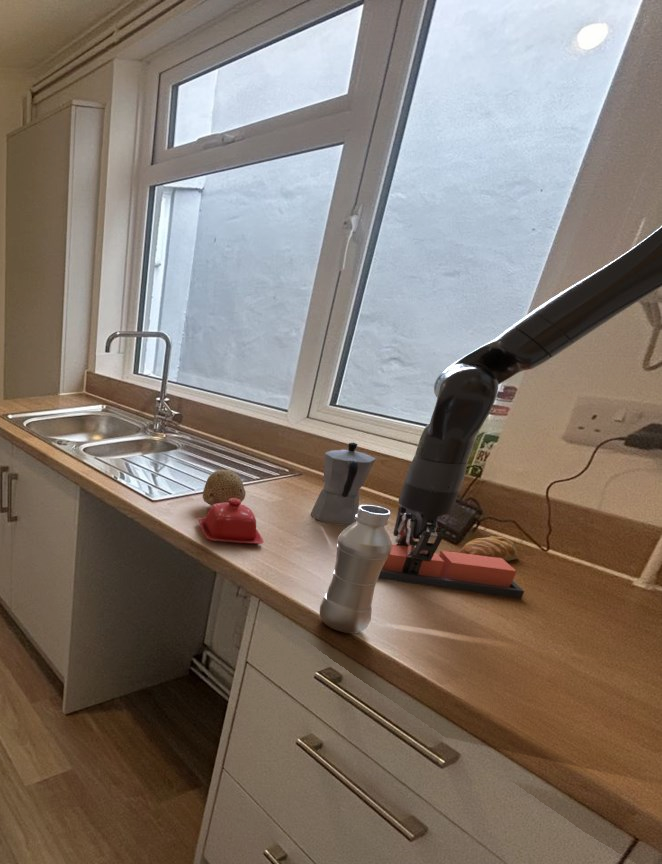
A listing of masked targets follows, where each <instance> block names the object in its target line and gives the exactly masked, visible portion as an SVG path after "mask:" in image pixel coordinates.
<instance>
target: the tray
mask: <svg viewBox="0 0 662 864" xmlns="http://www.w3.org/2000/svg"><path fill="white" fill-rule="evenodd" d="M378 580H385V581H386V580H387V581H391V582H400V583H406V584H413V585H418V586H419V585H421V586H427V587H433V588H440V589H441V588H442V589H447V590H453V591H460V592H461V591H462V592H467V593H474V594H482V595H488V596H495V597H501V598H502V597H503V598H509V599H514V600H515V599H516V600H521V599H522V598H523V596H524V593H525V591H524V590H523V589H522V588H521V587H520V586H519V585H518V584H517V583H516V582H515V581H514V580H513V581H512V583H511V586H510V588H509V587H502V586H495V585H488V584H481V583H474V582H467V581H459V580H452V579H445V578H441V577H440V576H439V578H438V577H431V576H424V575H417V574H410V573H403V572H396V571H388V570H381V572H380V575H379V577H378Z"/></svg>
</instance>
